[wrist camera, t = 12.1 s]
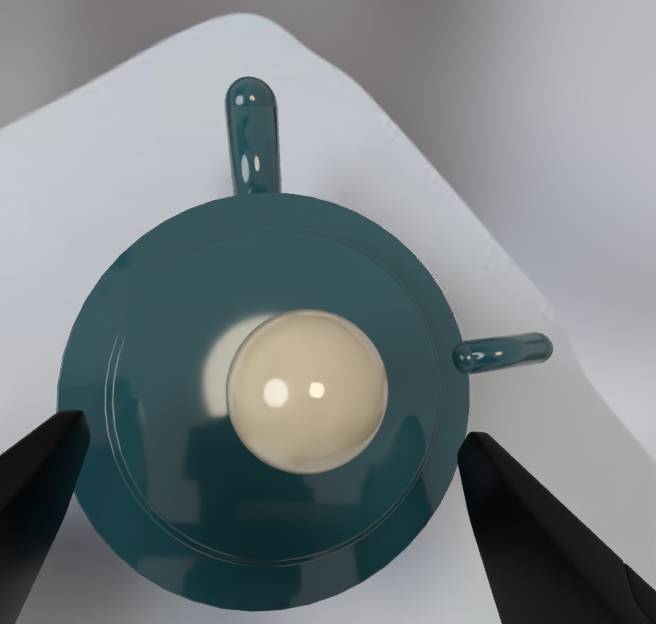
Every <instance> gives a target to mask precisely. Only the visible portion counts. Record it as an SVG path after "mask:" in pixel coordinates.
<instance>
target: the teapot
mask: <svg viewBox="0 0 656 624" xmlns="http://www.w3.org/2000/svg"><path fill="white" fill-rule="evenodd" d="M225 116H226V126H227V136H228V146H229V156H230V166H231V176H232V186H233V196H232V197H227V198H222V199H218V200H213V201H210V202H208V203H205V204H202V205H199V206H196V207H193V208H191V209H188V210H186V211H184V212H182V213H180V214H178V215H176V216H174V217H172V218H170V219H168V220H166V221H164V222H163V223H161V224H160V225H158V226H157V227H155V228H154V229H152V230H151V231H149V232H148V233H146V234H145V235H143V236H142V237H141V238H139V239H138V240H137V241H136V242H135V243H134V244H132V245H131V246H130V247H129V248H128V249H127V250H126V251H124V252H123V253H122V254H121V255H120V256H119V257H118V258H117V260H116V261H115V262H114V263H113V264H112V265H111V266H110V267H109V269H108V270H107V271H106V272H105V273H104V274H103V275H102V277H101V278H100V280H99V281H98V283H97V284H96V286H95V287H94V288H93V290H92V291H91V293H90V294H89V296H88V297H87V299H86V300H85V302H84V304H83V307H82V309H81V311H80V313H79V315H78V317H77V319H76V321H75V323H74V325H73V327H72V330H71V333H70V336H69V339H68V342H67V345H66V348H65V351H64V354H63V358H62V363H61V369H60V374H59V380H58V385H57V409H56V413H57V412H59V411H61V410H63V409H74V410H83V411H84V412H85V413H86V417H87V421H88V425H89V429H90V433H91V440H90V445H89V448H88V451H87V454H86V456H85V459H84V462H83V465H82V468H81V471H80V474H79V477H78V480H77V483H76V486H75V488H74V493H75V495H76V498H77V500H78V502H79V505H80V506H81V508H82V509H83V511H84V513H85V514H86V516H87V518H88V519H89V521H90V522H91V524H92V526H93V527H94V529H95V530H96V532H97V533H98V534H99V535H100V536H101V537H102V539H103V540H104V541H105V542H106V543H107V544H108V546H109V547H110V548H111V549H112V550H113V551H114V553H115V554H116V555H118V556H119V557H120V558H121V559H122V560H123V561H125V562H126V563H127V564H128V565H129V566H131V567H132V568H133V569H134V570H135V571H136V572H138V573H139V574H140V575H142V576H144V577H145V578H147V579H148V580H150V581H152V582H153V583H155V584H157V585H158V586H160V587H161V588H163V589H165V590H167V591H169V592H172V593H174V594H177V595H179V596H181V597H184V598H186V599H189V600H191V601H194V602H198V603H202V604H206V605H210V606H214V607H218V608H222V609H231V610H242V611H270V610H284V609H289V608H294V607H299V606H304V605H309V604H312V603H315V602H318V601H321V600H324V599H327V598H330V597H333V596H335V595H338V594H340V593H342V592H344V591H346V590H348V589H350V588H352V587H354V586H356V585H358V584H360V583H362V582H364V581H365V580H367V579H368V578H369V577H371V576H372V575H374V574H375V573H377V572H378V571H380V570H381V569H382V568H384V567H385V566H387V565H388V564H389V563H390V562H391V561H392V560H393V559H395V558H396V557H397V556H398V555H399V554H400V553H401V552H402V551H403V550H405V549H406V548H407V547H408V546H409V544H410V543H411V542H412V541H413V540H414V539H415V538H416V536H417V535H418V534H419V533H420V532H421V531H422V529H423V528H424V527H425V526H426V524H427V523H428V521H429V520H430V518H431V517H432V515H433V514H434V512H435V511H436V509H437V508H438V506H439V505H440V503H441V501H442V499H443V497H444V495H445V493H446V491H447V489H448V487H449V485H450V483H451V481H452V479H453V476H454V473H455V471H456V468H457V465H458V462H457V452H458V449H459V448H460V446H461V445H462V443H463V441H464V440H465V436H466V431H467V422H468V413H469V377H468V374H474V373H481V372H487V371H494V370H501V369H507V368H514V367H521V366H527V365H534V364H540V363H543V362H545V361H547V360H548V359H549V358H550V357H551V355H552V352H553V345H552V343H551V341H550V339H549V338H548V337H547V336H545V335H544V334H541V333H537V332H530V333H522V334H514V335H507V336H499V337H491V338H484V339H476V340H468V341H462V338H461V334H460V332H459V329H458V326H457V324H456V321H455V318H454V315H453V313H452V311H451V309H450V307H449V305H448V303H447V301H446V299H445V297H444V295H443V293H442V291H441V289H440V288H439V286H438V285H437V283H436V282H435V280H434V279H433V277H432V276H431V274H430V273H429V271H428V270H427V269H426V268H425V267H424V266H423V264H422V263H421V262H420V261H419V260H418V259H417V257H416V256H415V255H414V254H413V253H412V252H411V251H410V250H409V249H408V248H407V247H406V246H405V245H403V244H402V243H401V242H400V241H399V240H398V239H397V238H396V237H394V236H393V235H392V234H390V233H389V232H388V231H386V230H385V229H383V228H382V227H381V226H379V225H378V224H376V223H375V222H373V221H371V220H369V219H367V218H366V217H364V216H362V215H360V214H359V213H357V212H354V211H352V210H349V209H347V208H345V207H342V206H340V205H337V204H335V203H331V202H328V201H324V200H320V199H317V198H313V197H308V196H301V195H295V194H288V193H282V188H281V166H280V144H279V122H278V105H277V100H276V97H275V94H274V93H273V91H272V89H271V88H270V87H269V85H267V84H266V83H265V82H264V81H262V80H261V79H259V78H256V77H250V76H246V77H242V78H239V79H237V80H236V81H234V82H233V83H232V84H231V85H230V87H229V88H228V90H227V92H226V95H225ZM269 230H289V231H300V232H306V233H312V234H316V235H320V236H323V237H327V238H330V239H333V240H336V241H338V242H340V243H343V244H345V245H347V246H350V247H352V248H353V249H355V250H357V251H358V252H360V253H362V254H364V255H365V256H367V257H368V258H370V259H371V260H372V261H374V262H375V263H376V264H378V265H379V266H380V267H382V268H383V269H384V270H385V271H386V272H387V273H388V274H389V275H390V276H391V277H392V278H393V279H394V280H395V281H396V282H397V283H398V285H399V286H400V287H401V288H402V290H403V291H404V292H405V293H406V294H407V296H408V297H409V299H410V300H411V302H412V304H413V305H414V307H415V308H416V310H417V312H418V313H419V316H420V318H421V320H422V322H423V324H424V326H425V328H426V331H427V334H428V337H429V340H430V343H431V346H432V349H433V354H434V359H435V364H436V371H437V382H438V399H437V411H436V418H435V425H434V429H433V433H432V436H431V440H430V444H429V447H428V449H427V452H426V454H425V457H424V459H423V462H422V464H421V466H420V468H419V470H418V472H417V473H416V475H415V477H414V479H413V480H412V482H411V484H410V485H409V487H408V488H407V489H406V491H405V492H404V493H403V495H402V496H401V498H400V499H399V500H398V502H397V503H396V504H395V505H394V506H393V507H392V508H391V509H390V510H389V511H388V512H387V513H386V514H385V515H384V516H383V517H382V518H381V519H380V520H378V521H377V522H376V523H375V524H374V525H372V526H371V527H370V528H369V529H367V530H366V531H365V532H363V533H361V534H360V535H358V536H357V537H355V538H353V539H352V540H350V541H348V542H347V543H345V544H342V545H340V546H338V547H336V548H333V549H331V550H329V551H327V552H323V553H320V554H316V555H313V556H309V557H306V558H301V559H294V560H287V561H254V560H247V559H240V558H235V557H231V556H228V555H225V554H221V553H218V552H215V551H212V550H210V549H208V548H206V547H204V546H201V545H199V544H197V543H195V542H193V541H191V540H190V539H188V538H187V537H185V536H184V535H182V534H181V533H179V532H178V531H176V530H175V529H173V528H172V527H171V526H170V525H169V524H168V523H167V522H165V521H164V520H163V519H162V518H161V517H160V516H159V515H158V514H157V513H156V512H155V511H154V510H153V509H152V508H151V506H150V505H149V504H148V503H147V501H146V500H145V499H144V498H143V496H142V495H141V494H140V492H139V491H138V489H137V487H136V486H135V484H134V482H133V481H132V479H131V477H130V475H129V474H128V471H127V469H126V467H125V464H124V462H123V459H122V457H121V454H120V452H119V448H118V444H117V440H116V436H115V431H114V426H113V416H112V405H111V402H112V381H113V375H114V370H115V365H116V359H117V356H118V353H119V350H120V347H121V344H122V341H123V338H124V335H125V333H126V331H127V329H128V327H129V325H130V323H131V321H132V319H133V317H134V315H135V313H136V312H137V310H138V309H139V307H140V306H141V304H142V303H143V301H144V300H145V298H146V297H147V295H148V294H149V293H150V292H151V291H152V290H153V289H154V287H155V286H156V285H157V284H158V283H159V282H160V281H161V279H163V278H164V277H165V276H166V275H167V274H168V273H169V272H170V271H172V270H173V269H174V268H175V267H176V266H177V265H179V264H180V263H182V262H183V261H184V260H186V259H187V258H189V257H190V256H192V255H193V254H195V253H196V252H198V251H200V250H202V249H204V248H206V247H208V246H210V245H212V244H214V243H217V242H220V241H222V240H225V239H228V238H231V237H234V236H238V235H242V234H247V233H252V232H258V231H269Z"/></svg>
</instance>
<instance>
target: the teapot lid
mask: <svg viewBox="0 0 656 624" xmlns="http://www.w3.org/2000/svg"><path fill="white" fill-rule="evenodd" d="M437 399H438V382H437V371H436V364H435V359H434V354H433V349H432V346H431V343H430V340H429V337H428V334H427V331H426V328H425V326H424V324H423V322H422V320H421V318H420V316H419V313H418V312H417V310H416V308H415V307H414V305H413V304H412V302H411V300H410V299H409V297H408V296H407V294H406V293H405V292H404V291H403V290H402V288H401V287H400V286H399V285H398V283H397V282H396V281H395V280H394V279H393V278H392V277H391V276H390V275H389V274H388V273H387V272H386V271H385V270H384V269H383V268H382V267H380V266H379V265H378V264H376V263H375V262H374V261H372V260H371V259H370V258H368V257H367V256H365V255H364V254H362V253H360V252H358V251H357V250H355V249H353V248H352V247H350V246H347V245H345V244H343V243H340V242H338V241H336V240H333V239H330V238H327V237H323V236H320V235H316V234H312V233H306V232H300V231H289V230H269V231H258V232H252V233H247V234H242V235H238V236H234V237H231V238H228V239H225V240H222V241H220V242H217V243H214V244H212V245H210V246H208V247H206V248H204V249H202V250H200V251H198V252H196V253H195V254H193V255H192V256H190V257H189V258H187V259H186V260H184V261H183V262H182V263H180V264H179V265H177V266H176V267H175V268H174V269H173V270H172V271H170V272H169V273H168V274H167V275H166V276H165V277H164V278H163V279H161V281H160V282H159V283H158V284H157V285H156V286H155V287H154V289H153V290H152V291H151V292H150V293H149V294H148V295H147V297H146V298H145V300H144V301H143V303H142V304H141V306H140V307H139V309H138V310H137V312H136V313H135V315H134V317H133V319H132V321H131V323H130V325H129V327H128V329H127V331H126V333H125V335H124V338H123V341H122V344H121V347H120V350H119V353H118V356H117V359H116V365H115V370H114V375H113V381H112V402H111V405H112V416H113V426H114V431H115V436H116V440H117V444H118V448H119V452H120V454H121V457H122V459H123V462H124V464H125V467H126V469H127V471H128V474H129V475H130V477H131V479H132V481H133V482H134V484H135V486H136V487H137V489H138V491H139V492H140V494H141V495H142V496H143V498H144V499H145V500H146V501H147V503H148V504H149V505H150V506H151V508H152V509H153V510H154V511H155V512H156V513H157V514H158V515H159V516H160V517H161V518H162V519H163V520H164V521H165V522H167V523H168V524H169V525H170V526H171V527H172V528H173V529H175V530H176V531H178V532H179V533H181V534H182V535H184V536H185V537H187V538H188V539H190V540H191V541H193V542H195V543H197V544H199V545H201V546H204V547H206V548H208V549H210V550H212V551H215V552H218V553H221V554H225V555H228V556H231V557H235V558H240V559H247V560H254V561H287V560H294V559H301V558H306V557H309V556H313V555H316V554H320V553H323V552H327V551H329V550H331V549H333V548H336V547H338V546H340V545H342V544H345V543H347V542H348V541H350V540H352V539H353V538H355V537H357V536H358V535H360V534H361V533H363V532H365V531H366V530H367V529H369V528H370V527H371V526H372V525H374V524H375V523H376V522H377V521H378V520H380V519H381V518H382V517H383V516H384V515H385V514H386V513H387V512H388V511H389V510H390V509H391V508H392V507H393V506H394V505H395V504H396V503H397V502H398V500H399V499H400V498H401V496H402V495H403V493H404V492H405V491H406V489H407V488H408V487H409V485H410V484H411V482H412V480H413V479H414V477H415V475H416V473H417V472H418V470H419V468H420V466H421V464H422V462H423V459H424V457H425V454H426V452H427V449H428V447H429V444H430V440H431V436H432V433H433V429H434V425H435V418H436V411H437Z"/></svg>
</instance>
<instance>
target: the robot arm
mask: <svg viewBox="0 0 656 624" xmlns="http://www.w3.org/2000/svg"><path fill="white" fill-rule="evenodd" d="M90 440H91V433H90V429H89V425H88V421H87V417H86V413H85V412H84V411H83V410H74V409H63V410H61V411H59V412H57V413H56V414H55V415H53V416H52V417H51V418H49V419H48V420H47V421H45V422H44V423H43V424H41V425H40V426H39V427H37V428H36V429H35V430H33V431H32V432H31V433H29V434H28V435H27V436H25V437H24V438H23V439H21V440H20V441H19V442H17V443H16V444H15V445H13V446H12V447H11V448H9V449H8V450H7V451H5V452H4V453H3V454H1V455H0V624H15V622H16V620H17V618H18V616H19V614H20V611H21V609H22V607H23V605H24V603H25V601H26V599H27V596H28V594H29V592H30V590H31V588H32V586H33V584H34V582H35V579H36V577H37V575H38V573H39V571H40V569H41V567H42V564H43V562H44V560H45V558H46V556H47V554H48V552H49V549H50V547H51V545H52V543H53V541H54V539H55V537H56V535H57V532H58V530H59V528H60V526H61V524H62V521H63V519H64V517H65V514H66V511H67V509H68V506H69V503H70V500H71V497H72V494H73V491H74V488H75V486H76V483H77V480H78V477H79V474H80V471H81V468H82V465H83V462H84V459H85V456H86V454H87V451H88V448H89V445H90ZM457 462H458V467H459V471H460V476H461V481H462V486H463V491H464V496H465V500H466V505H467V510H468V514H469V518H470V522H471V526H472V529H473V532H474V536H475V539H476V542H477V545H478V549H479V552H480V555H481V558H482V561H483V565H484V568H485V571H486V574H487V578H488V581H489V584H490V587H491V591H492V594H493V597H494V600H495V603H496V607H497V610H498V613H499V616H500V620H501V623H502V624H656V591H655V590H654V589H653V588H652V587H651V586H650V585H649V584H647V583H646V582H645V581H644V580H643V579H642V578H641V577H640V576H639V575H638V574H637V573H636V572H635V571H634V570H632V569H631V568H630V567H629V566H628V565H627V564H625V563H623V560H622V559H621V558H620V557H618V556H617V555H616V554H615V553H614V552H613V551H612V550H611V549H610V548H609V547H608V546H607V545H606V544H605V543H604V542H603V541H601V540H600V539H599V538H598V537H597V536H596V535H595V534H594V533H593V532H592V531H591V530H590V529H589V528H588V527H587V526H586V525H584V524H583V523H582V522H581V521H580V520H579V519H578V518H577V517H576V516H575V515H574V514H573V513H572V512H571V511H570V510H568V509H567V508H566V507H565V506H564V505H563V504H562V503H561V502H560V501H559V500H558V499H557V498H556V497H555V496H554V495H553V494H551V493H550V492H549V491H548V490H547V489H546V488H545V487H544V486H543V485H542V484H541V483H540V482H539V481H538V480H537V479H536V478H534V477H533V476H532V475H531V474H530V473H529V472H528V471H527V470H526V469H525V468H524V467H523V466H522V465H521V464H520V463H519V462H517V461H516V460H515V459H514V458H513V457H512V456H511V455H510V454H509V453H508V452H507V451H506V450H505V449H504V448H503V447H501V446H500V445H499V444H498V443H497V442H496V441H495V440H494V439H493V438H492V437H491V436H490V435H488V434H487V433H484V432H470V433H469V434H468V435H467V437H466V438H465V440H464V441H463V443H462V445H461V446H460V448H459V449H458V452H457Z"/></svg>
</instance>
